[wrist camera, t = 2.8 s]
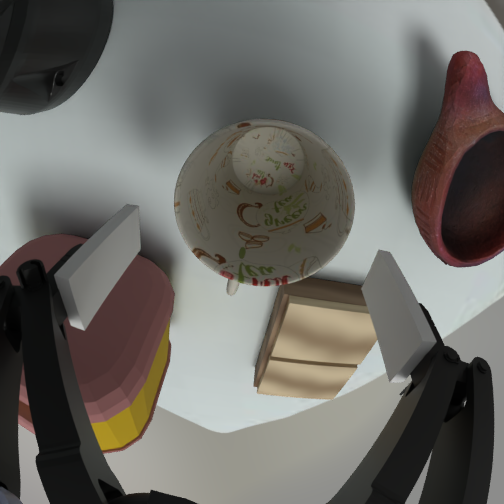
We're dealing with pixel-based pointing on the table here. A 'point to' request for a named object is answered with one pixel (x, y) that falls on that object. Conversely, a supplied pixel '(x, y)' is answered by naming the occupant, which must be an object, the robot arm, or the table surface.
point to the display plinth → (314, 339)
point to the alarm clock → (112, 345)
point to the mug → (264, 203)
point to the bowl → (463, 171)
